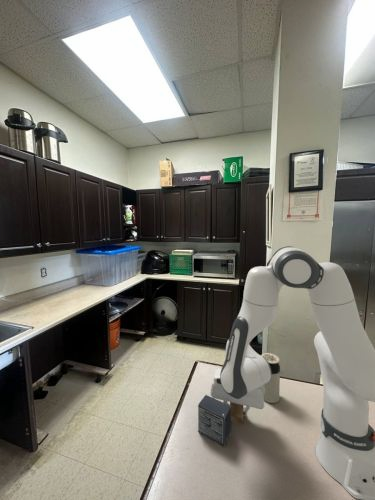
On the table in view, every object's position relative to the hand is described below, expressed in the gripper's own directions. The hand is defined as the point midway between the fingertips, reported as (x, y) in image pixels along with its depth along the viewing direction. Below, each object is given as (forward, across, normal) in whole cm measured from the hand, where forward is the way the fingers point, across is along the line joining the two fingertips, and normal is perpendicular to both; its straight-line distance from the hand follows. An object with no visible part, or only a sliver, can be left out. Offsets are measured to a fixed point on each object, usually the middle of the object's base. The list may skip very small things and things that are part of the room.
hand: (236, 411), depth 82 cm
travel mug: (+2, -13, -15) cm, 20 cm away
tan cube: (+2, 0, 0) cm, 2 cm away
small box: (+2, +7, +9) cm, 12 cm away
